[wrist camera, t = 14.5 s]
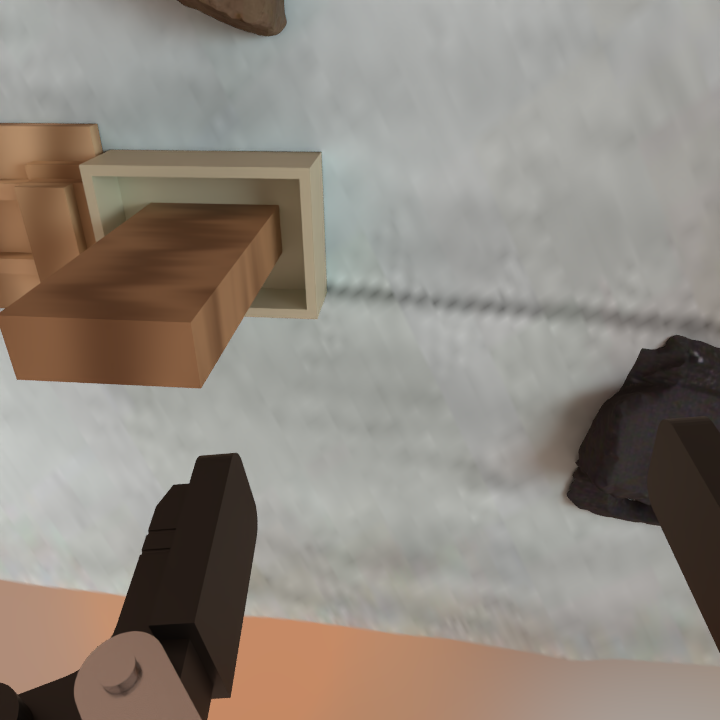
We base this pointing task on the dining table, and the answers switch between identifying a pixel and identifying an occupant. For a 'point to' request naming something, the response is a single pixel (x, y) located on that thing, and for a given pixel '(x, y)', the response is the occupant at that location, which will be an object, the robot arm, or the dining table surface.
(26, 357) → the board
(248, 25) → the brown irregular slab
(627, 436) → the dark slate chunk
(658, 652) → the dining table surface
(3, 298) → the rack
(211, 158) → the tray
